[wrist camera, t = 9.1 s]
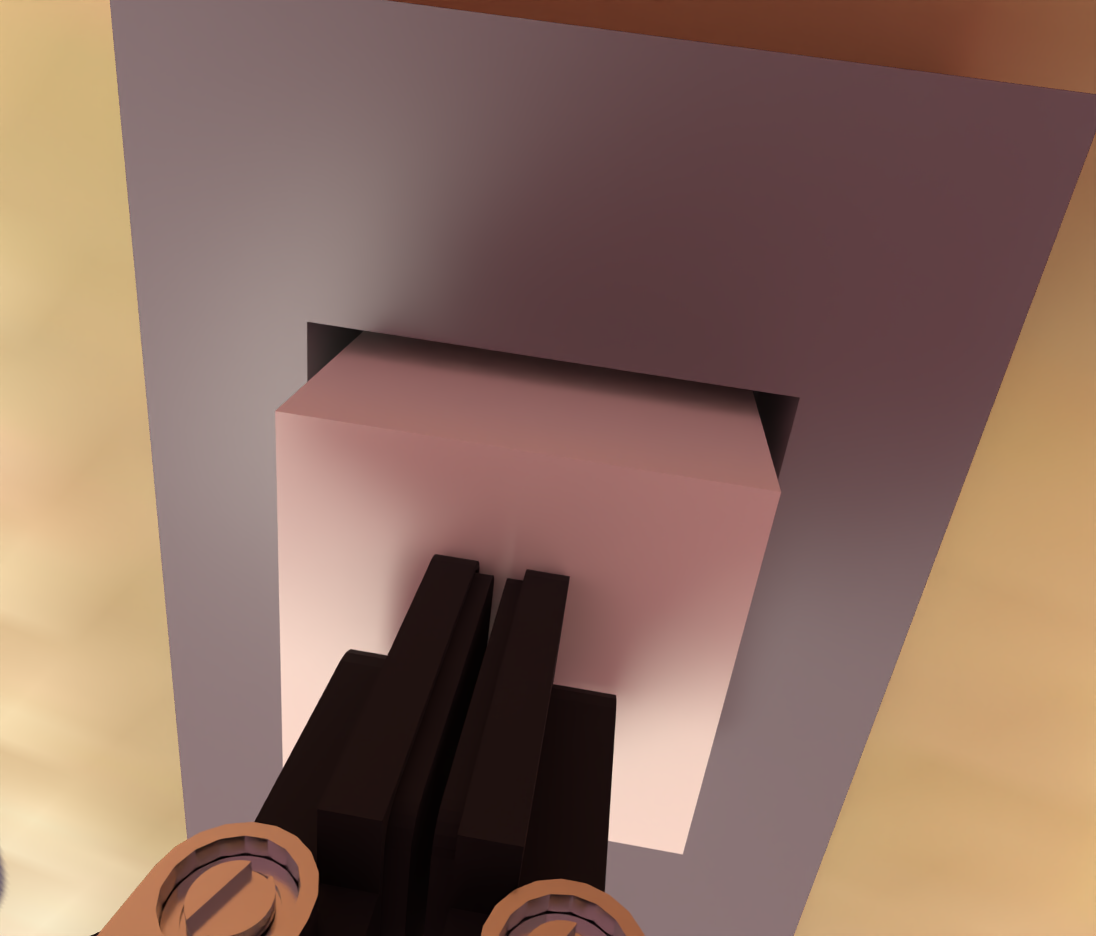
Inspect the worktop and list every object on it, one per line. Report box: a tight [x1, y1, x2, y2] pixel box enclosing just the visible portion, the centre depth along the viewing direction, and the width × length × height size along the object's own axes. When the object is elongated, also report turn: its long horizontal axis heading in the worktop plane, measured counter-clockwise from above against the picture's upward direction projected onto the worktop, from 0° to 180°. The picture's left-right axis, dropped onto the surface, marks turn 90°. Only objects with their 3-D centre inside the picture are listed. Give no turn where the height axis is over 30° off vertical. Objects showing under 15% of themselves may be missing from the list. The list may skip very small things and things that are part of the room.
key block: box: [110, 0, 1096, 936], centre depth 17 cm, size 11×26×5 cm, turn 173°
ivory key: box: [275, 331, 781, 854], centre depth 13 cm, size 6×6×5 cm
